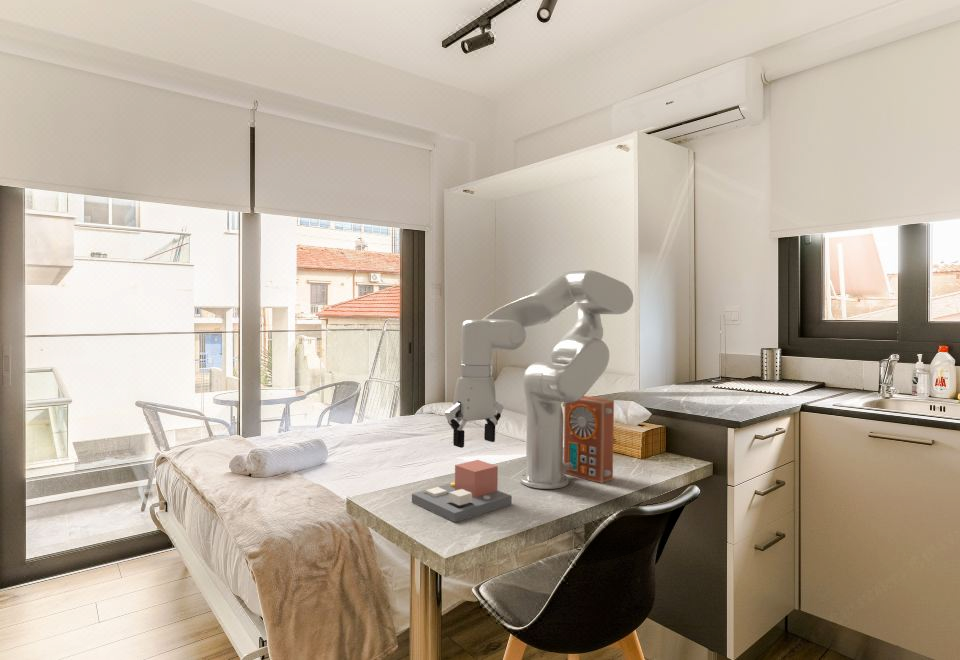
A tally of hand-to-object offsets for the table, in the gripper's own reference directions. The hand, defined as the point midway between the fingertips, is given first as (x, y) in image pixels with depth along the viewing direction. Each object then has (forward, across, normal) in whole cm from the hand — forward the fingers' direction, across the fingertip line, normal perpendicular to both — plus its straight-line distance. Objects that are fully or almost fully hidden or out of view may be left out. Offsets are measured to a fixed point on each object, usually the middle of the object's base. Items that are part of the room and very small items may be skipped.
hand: (474, 443), depth 130 cm
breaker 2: (+11, +8, +5) cm, 14 cm away
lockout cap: (+11, -1, 0) cm, 11 cm away
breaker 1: (+13, +8, -4) cm, 16 cm away
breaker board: (+13, +4, 0) cm, 14 cm away
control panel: (+13, -36, +6) cm, 39 cm away
